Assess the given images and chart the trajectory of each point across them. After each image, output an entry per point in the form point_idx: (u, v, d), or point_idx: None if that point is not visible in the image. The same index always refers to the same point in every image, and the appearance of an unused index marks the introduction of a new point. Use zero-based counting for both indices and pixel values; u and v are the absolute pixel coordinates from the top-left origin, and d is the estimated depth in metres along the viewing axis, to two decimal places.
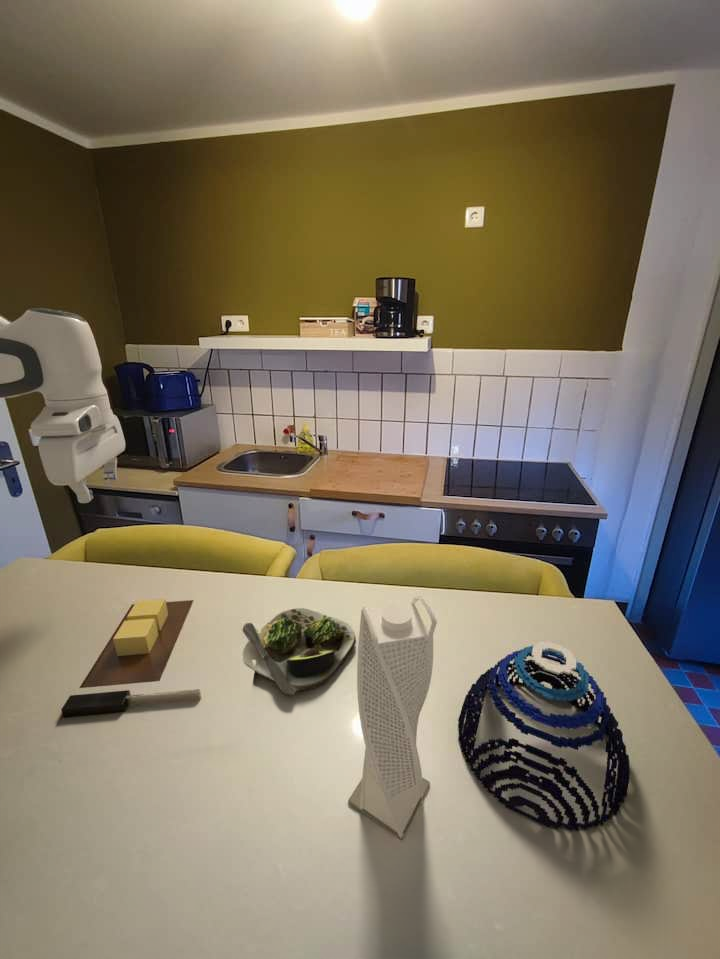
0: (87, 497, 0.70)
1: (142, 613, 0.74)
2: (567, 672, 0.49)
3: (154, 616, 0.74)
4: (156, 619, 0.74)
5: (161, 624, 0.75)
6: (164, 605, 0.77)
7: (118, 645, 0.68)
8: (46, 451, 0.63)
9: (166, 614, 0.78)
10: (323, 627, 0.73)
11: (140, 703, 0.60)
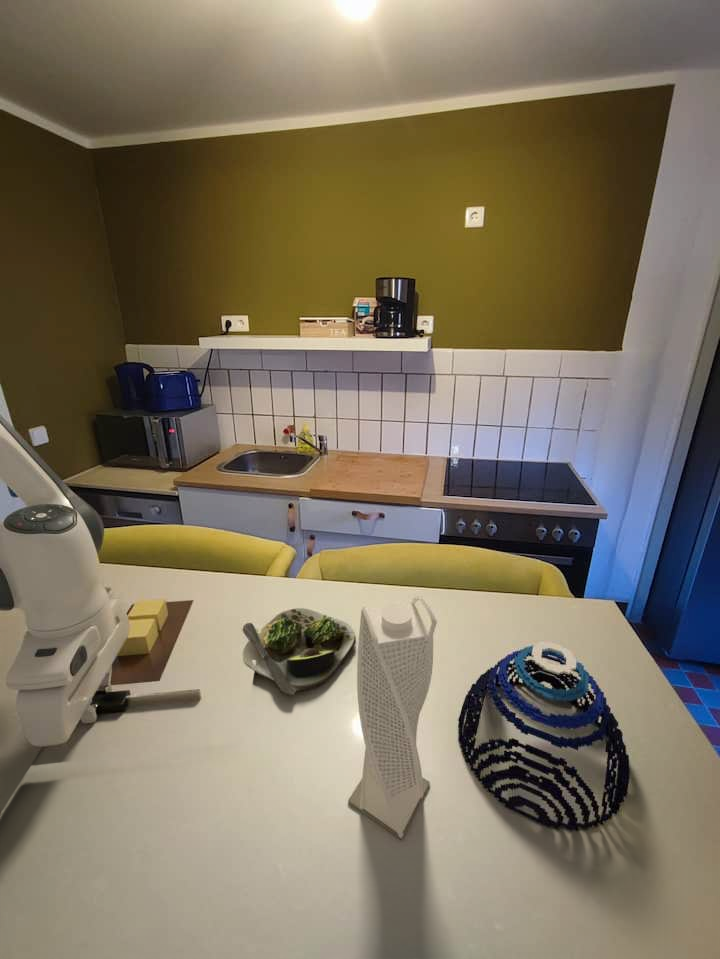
0: (92, 717, 0.57)
1: (142, 613, 0.74)
2: (567, 672, 0.49)
3: (154, 616, 0.74)
4: (156, 619, 0.74)
5: (161, 624, 0.75)
6: (164, 605, 0.77)
7: None
8: (26, 711, 0.47)
9: (166, 614, 0.78)
10: (323, 627, 0.73)
11: (140, 703, 0.60)
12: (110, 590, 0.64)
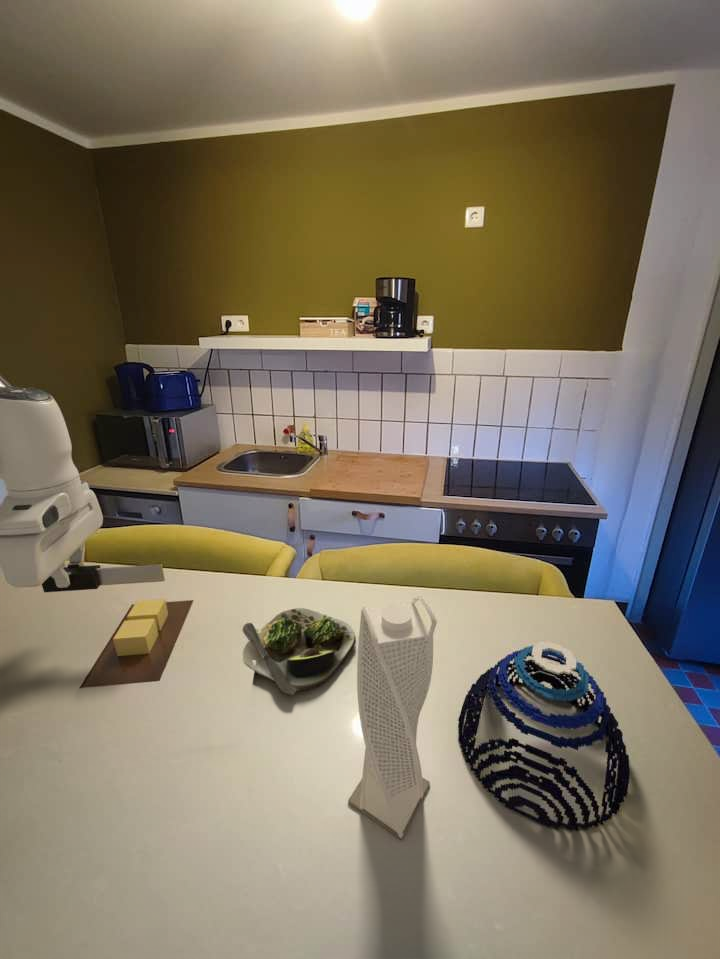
0: (66, 581, 0.66)
1: (142, 613, 0.74)
2: (567, 672, 0.49)
3: (154, 616, 0.74)
4: (156, 619, 0.74)
5: (161, 624, 0.75)
6: (164, 605, 0.77)
7: (118, 645, 0.68)
8: (5, 553, 0.56)
9: (166, 614, 0.78)
10: (323, 627, 0.73)
11: (109, 575, 0.69)
12: (84, 482, 0.73)
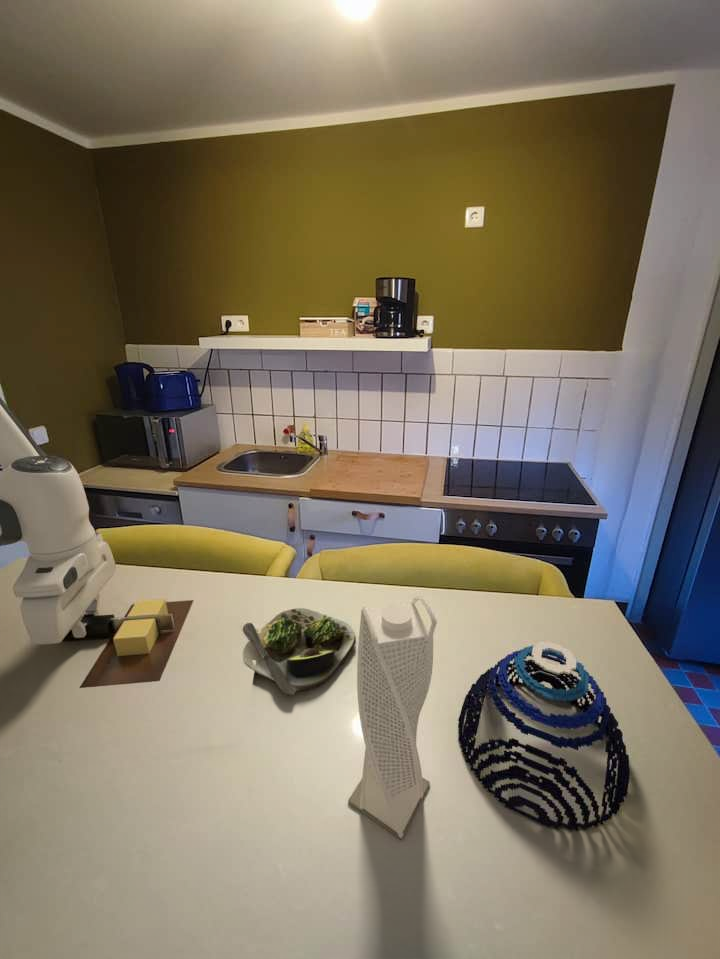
0: (82, 632, 0.70)
1: (142, 613, 0.74)
2: (567, 672, 0.49)
3: None
4: None
5: None
6: (164, 605, 0.77)
7: (118, 645, 0.68)
8: (29, 614, 0.60)
9: None
10: (323, 627, 0.73)
11: None
12: (98, 534, 0.77)
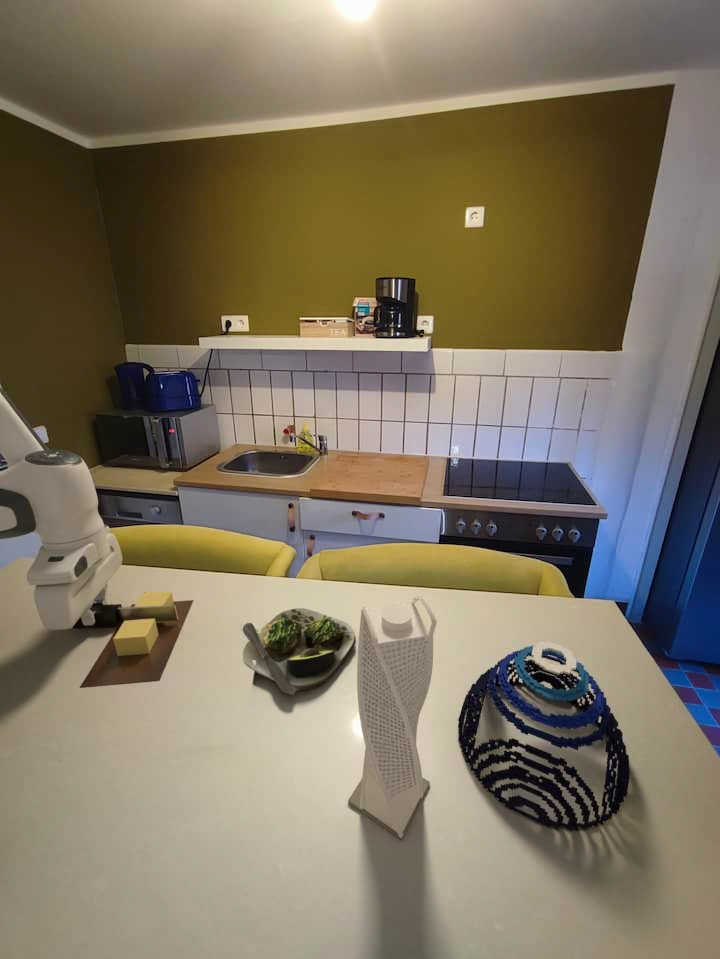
0: (91, 620, 0.73)
1: (148, 605, 0.76)
2: (567, 672, 0.49)
3: None
4: None
5: None
6: (170, 598, 0.79)
7: (118, 645, 0.68)
8: (42, 600, 0.63)
9: None
10: (323, 627, 0.73)
11: (129, 614, 0.75)
12: (106, 526, 0.80)
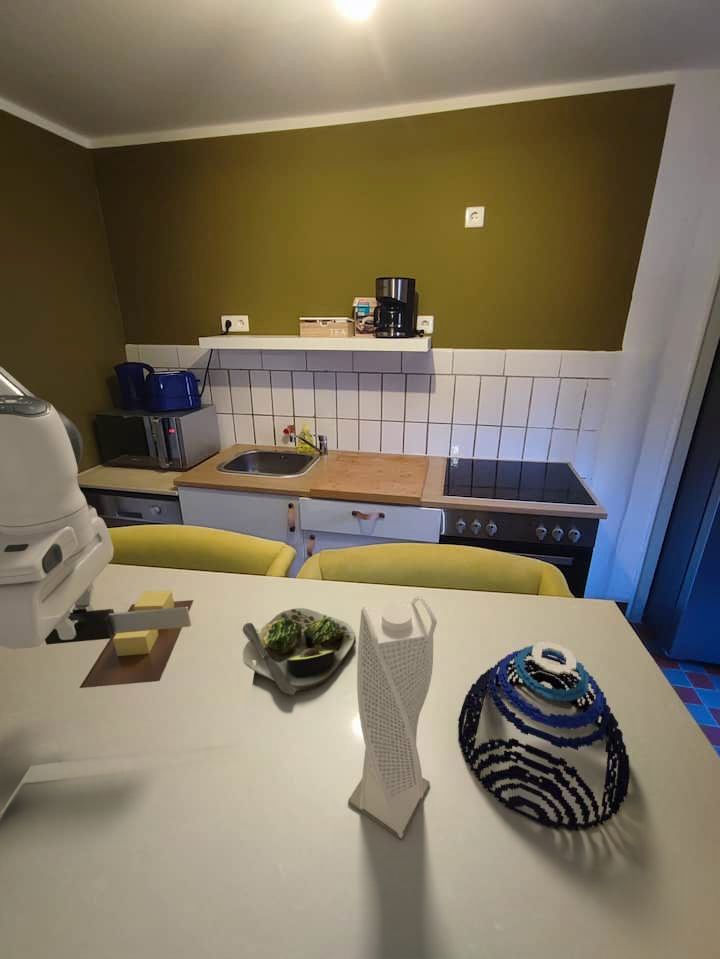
0: (71, 632, 0.54)
1: (149, 604, 0.76)
2: (567, 672, 0.49)
3: (159, 607, 0.76)
4: None
5: None
6: (170, 597, 0.80)
7: (118, 645, 0.68)
8: None
9: (172, 605, 0.80)
10: (323, 627, 0.73)
11: (124, 621, 0.57)
12: (91, 508, 0.61)
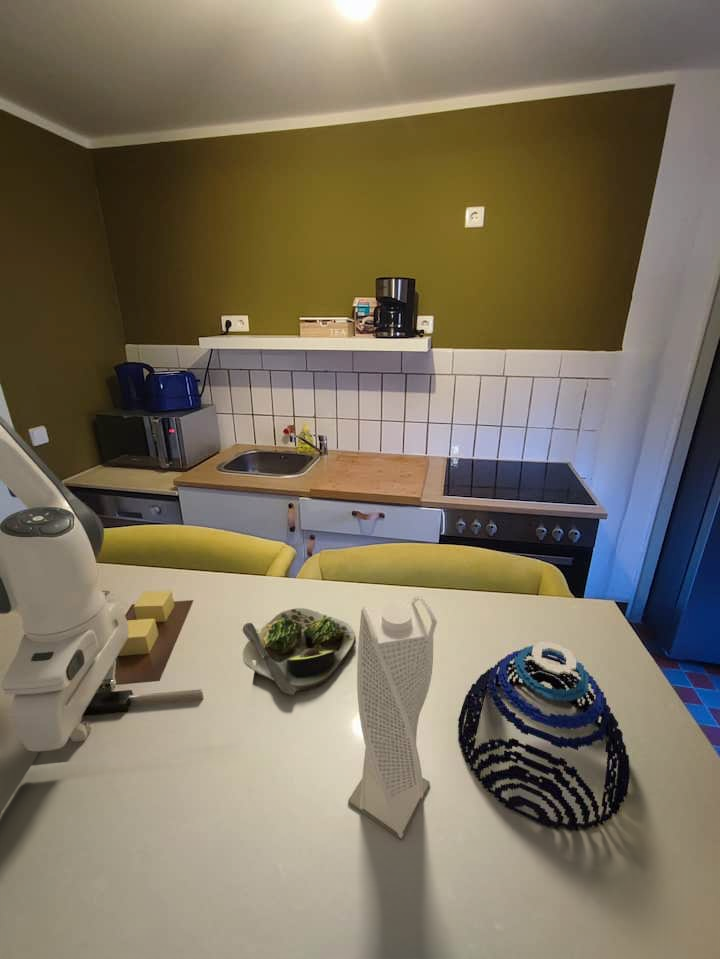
0: (83, 735, 0.55)
1: (149, 604, 0.76)
2: (567, 672, 0.49)
3: (159, 607, 0.76)
4: (161, 610, 0.76)
5: (166, 615, 0.78)
6: (170, 597, 0.80)
7: None
8: (22, 716, 0.47)
9: (172, 605, 0.80)
10: (323, 627, 0.73)
11: (143, 703, 0.60)
12: (109, 593, 0.64)
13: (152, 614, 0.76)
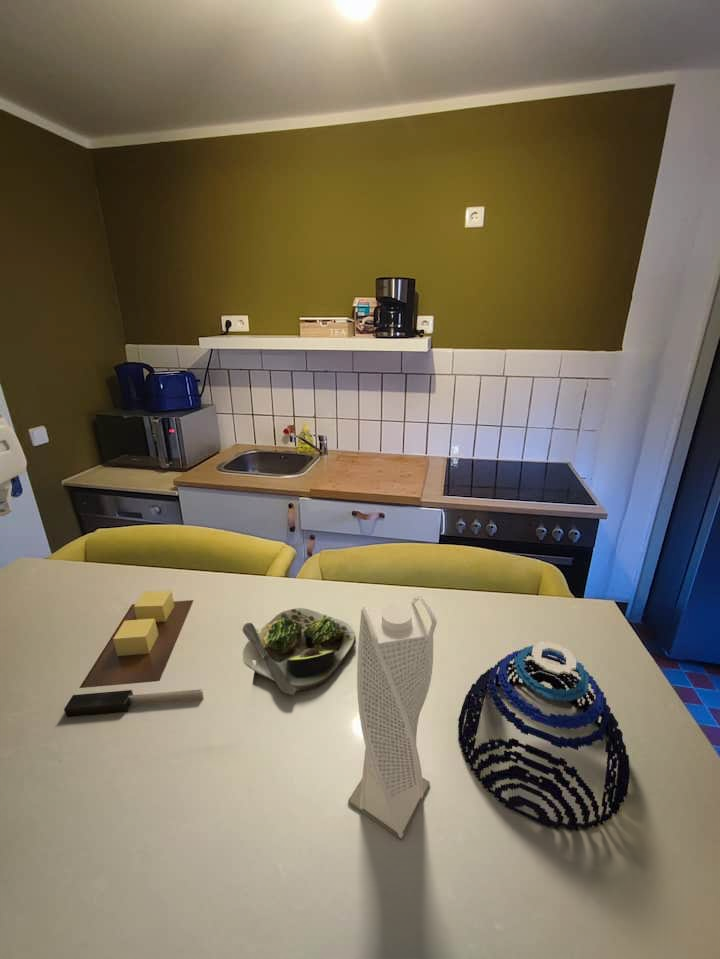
0: None
1: (149, 604, 0.76)
2: (567, 672, 0.49)
3: (159, 607, 0.76)
4: (161, 610, 0.76)
5: (166, 615, 0.78)
6: (170, 597, 0.80)
7: (118, 645, 0.68)
8: None
9: (172, 605, 0.80)
10: (323, 627, 0.73)
11: (143, 703, 0.60)
12: (0, 417, 0.60)
13: (152, 614, 0.76)
